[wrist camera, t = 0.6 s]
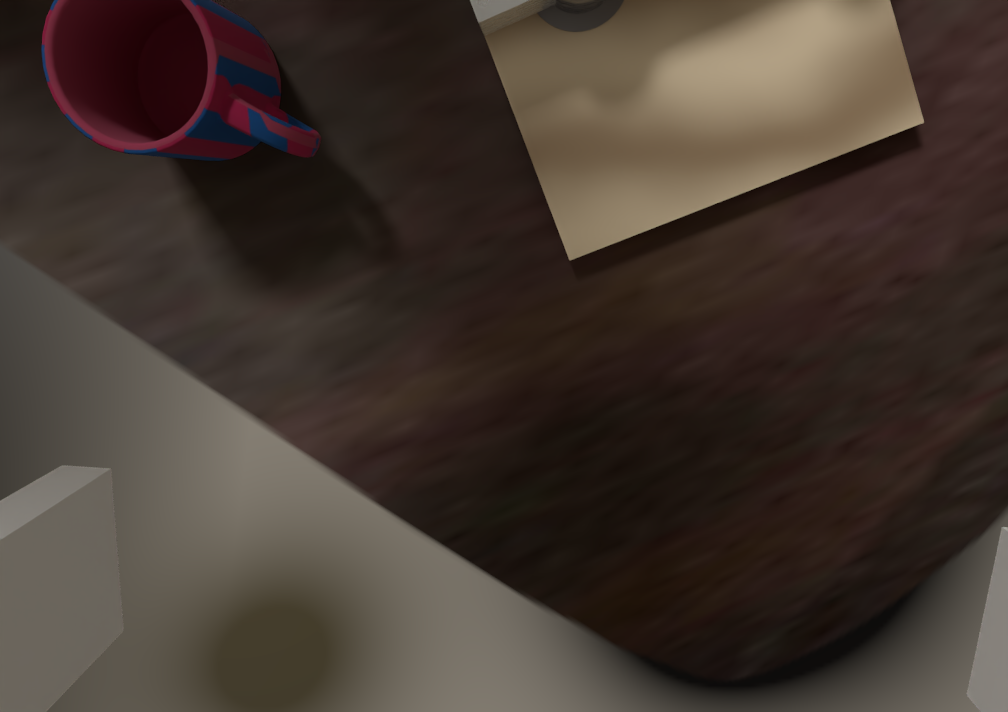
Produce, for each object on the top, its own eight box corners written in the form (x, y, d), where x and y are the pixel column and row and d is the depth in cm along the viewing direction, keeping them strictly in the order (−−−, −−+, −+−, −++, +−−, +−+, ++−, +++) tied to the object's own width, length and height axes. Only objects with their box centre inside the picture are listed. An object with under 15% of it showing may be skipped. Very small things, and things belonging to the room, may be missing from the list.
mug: (180, -25, 33) (88, -78, 27) (370, 104, 34) (326, 83, 27) (114, 107, 35) (11, 88, 28) (298, 228, 35) (240, 237, 29)
